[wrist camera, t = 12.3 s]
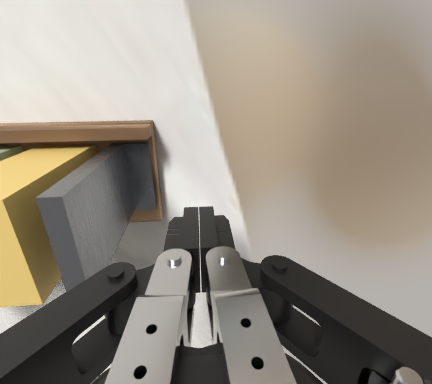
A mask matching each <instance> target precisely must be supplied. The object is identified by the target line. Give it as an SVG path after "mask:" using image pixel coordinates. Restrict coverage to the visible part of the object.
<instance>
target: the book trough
mask: <svg viewBox="0 0 432 384" xmlns="http://www.w3.org/2000/svg"><path fill="white" fill-rule="evenodd" d="M130 142H149V144H150V152H151V161H152V170H153V178H154V187H155V195H156V204H157V207H156V209H152V210H134V212H133V214H132V216H131V218H130V221H129V222H145V221H161V220H162V216H163V210H162V201H161V191H160V182H159V173H158V164H157V154H156V145H155V136H154V126H153V120H148V121H98V122H49V123H0V146H16V145H22V147H23V150H24V152H25V151H27V150H30V149H32V148H35V147H37V146H40V145H72V144H96V147H97V152H98V153H99V152H101V151H102V150H103V149H105V148H106V147H108V146H109V145H110V144H112V143H130Z"/></svg>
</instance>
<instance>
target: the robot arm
mask: <svg viewBox="0 0 432 384" xmlns="http://www.w3.org/2000/svg"><path fill="white" fill-rule="evenodd" d="M199 214H200V249H199V217H198V207H185V208H184V215H183V217H174V218H173V219H172V220H171V221H170V222H169V226H168V231H167V236H166V241H165V246H164V251H163V253H161V254H160V255H159V256H158V258H157V260H156V263H155V264H154V265H152V266H150V267H147V268H144V269H140V270H136V269H135V267H134V266H133V265H132V264H129V263H124V262H120V263H115V264H111V265H109V266H107V267H105V268H103V269H102V270H100V271H99V272H97V273H96V274H94V275H92V276H91V277H89V278H88V279H86V280H85V281H83V282H81V283H80V284H78V285H77V286H75V287H74V288H72V289H70V290H69V291H67V292H66V293H64V294H63V295H61V296H59V297H58V298H56V299H55V300H53V301H51V302H50V303H48V304H47V305H45V306H44V307H42V308H40V309H39V310H37V311H36V312H34V313H33V314H31V315H29V316H28V317H26V318H25V319H23V320H22V321H20V322H18V323H17V324H15V325H14V326H12V327H11V328H9V329H7V330H6V331H4V332H3V333H1V334H0V384H323V383H322V382H321V381H320V380H319V379H318V378H316V377H315V376H314V375H313V374H312V373H311V372H310V371H309V370H307V369H306V368H305V367H304V366H303V365H302V364H301V363H299V362H298V361H296V360H295V359H294V358H292V357H290V356H289V355H287V354H285V353H284V351H283V348H282V346H281V345H283V346H284V347H285V348H286V349H287V350H289V351H290V352H291V353H292V354H293V355H294V356H296V357H297V358H298V359H299V360H300V361H302V362H303V363H304V364H305V365H306V366H308V367H309V368H310V369H311V370H312V371H313V372H315V373H316V374H317V375H318V376H319V377H320V378H322V379H323V380H324V381H325V382H326V383H328V384H432V337H430V336H428V335H426V334H424V333H423V332H421V331H419V330H417V329H415V328H413V327H412V326H410V325H408V324H406V323H404V322H403V321H401V320H399V319H397V318H395V317H394V316H392V315H390V314H388V313H386V312H385V311H382V310H381V309H379V308H377V307H376V306H374V305H372V304H370V303H368V302H366V301H365V300H363V299H361V298H359V297H357V296H356V295H354V294H352V293H350V292H348V291H347V290H345V289H343V288H341V287H339V286H338V285H336V284H334V283H332V282H330V281H329V280H327V279H325V278H323V277H321V276H320V275H318V274H316V273H314V272H312V271H310V270H308V269H306V268H305V267H303V266H301V265H300V264H298V263H296V262H294V261H292V260H290V259H289V258H286V257H284V256H278V255H273V256H268V257H266V258H264V259H263V260H262V262H261V264H259V263H253V262H249V261H246V260H244V259H243V258H241V257H240V254H239V253H238V252H237V251H236V250H235V245H234V241H233V237H232V232H231V228H230V224H229V220H228V219H227V218H226V217H225V216H224V215H218V216H214V210H213V206H212V207H199ZM200 253H201V281H202V292H206V293H207V312H208V319H209V326H210V334H211V341H212V345H210V346H207V347H204V348H193V347H191V339H192V329H193V319H194V304H195V297H196V293H199V292H200ZM293 305H294V306H296V307H297V308H299V309H300V310H302V311H303V312H304V313H306V314H307V315H309V316H310V317H312V318H313V319H314V320H316V321H317V322H318V323H319V325H320V326H321V327H320V326H319V325H317V324H316V323H314V322H313V321H312V320H310V319H309V318H307V317H306V316H305V315H303V314H302V313H300V312H299V311H297V310H296V309H294V308H293ZM103 315H105V319H104V320H102V321H101V322H100V323H99V324H97V325H96V326H95V327H94V328H92V329H91V330H90V331H89V332H88V333H86V334H85V335H84V336H83V337H81V338H80V339H79V340H78V341H76V342H75V343H74V344H73V342H74V340H75V339H76V338H77V337H78V336H79V335H80V334H81V333H82V332H83V331H85V330H86V329H87V328H88V327H90V326H91V325H92V324H93V323H95V322H96V321H97V320H98V319H100V318H101V317H102V316H103ZM72 344H73V345H72ZM111 363H112V365H111V368H109V369H108V370H106V371H105V372H104V373H102V372H103V371H104V370H105V369H106V368H107V367H108V366H109V365H110V364H111ZM101 373H102V374H101ZM100 374H101V375H100ZM99 375H100V376H99Z"/></svg>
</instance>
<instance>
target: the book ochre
mask: <svg viewBox="0 0 432 384" xmlns="http://www.w3.org/2000/svg"><path fill="white" fill-rule="evenodd" d="M96 154H98V152H97V147H96V144H72V145H40V146H37V147H35V148H32V149H30V150H27V151H25V152H22V153H20V154H17V155H15V156H12V157H9V158H7V159H4V160H2V161H0V307H13V306H28V305H42V304H43V303H44V302H45V301H46V299H47V298H48V296H49V295H50V293H51V292H52V290H53V289H54V287H55V286H56V285H57V283H58V282H59V280H60V279H61V274H60V271H59V268H58V265H57V262H56V258H55V255H54V252H53V249H52V246H51V243H50V240H49V237H48V234H47V231H46V228H45V225H44V222H43V219H42V216H41V213H40V210H39V207H38V204H37V201H36V197H37V196H39V195H40V194H42V193H43V192H44V191H46V190H47V189H49V188H50V187H51V186H53V185H54V184H56V183H57V182H58V181H60V180H61V179H63V178H64V177H65V176H67V175H68V174H70V173H71V172H72V171H74V170H75V169H77V168H78V167H80V166H81V165H82V164H84V163H85V162H87V161H88V160H89V159H91V158H92V157H94V156H95V155H96Z"/></svg>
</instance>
